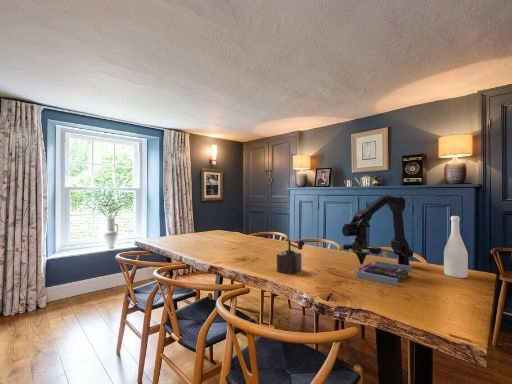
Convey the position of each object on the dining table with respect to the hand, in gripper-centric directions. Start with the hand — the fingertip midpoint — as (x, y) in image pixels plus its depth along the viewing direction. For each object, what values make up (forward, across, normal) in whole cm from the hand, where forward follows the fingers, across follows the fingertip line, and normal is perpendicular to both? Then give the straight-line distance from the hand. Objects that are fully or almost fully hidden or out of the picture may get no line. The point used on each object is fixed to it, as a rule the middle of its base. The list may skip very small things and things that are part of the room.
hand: (361, 264), depth 142 cm
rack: (+3, +12, 0) cm, 12 cm away
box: (+4, +11, 0) cm, 12 cm away
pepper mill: (+3, -26, -27) cm, 38 cm away
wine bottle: (+3, +39, +22) cm, 45 cm away
